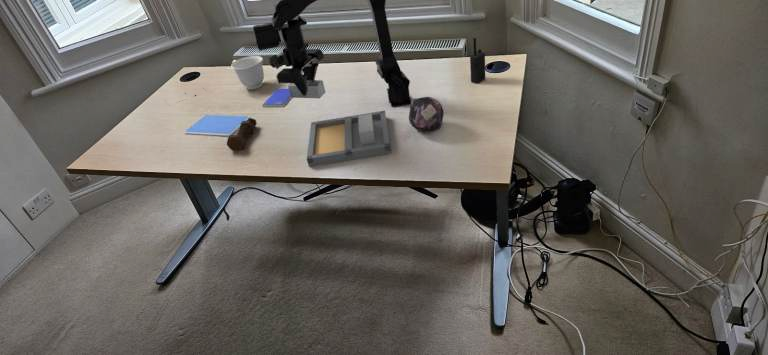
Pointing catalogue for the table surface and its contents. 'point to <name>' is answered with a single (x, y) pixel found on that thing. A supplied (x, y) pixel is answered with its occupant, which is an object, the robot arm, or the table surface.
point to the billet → (308, 89)
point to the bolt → (241, 135)
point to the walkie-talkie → (477, 65)
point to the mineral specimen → (426, 114)
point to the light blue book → (217, 125)
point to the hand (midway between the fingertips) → (307, 91)
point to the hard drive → (278, 98)
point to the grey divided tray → (348, 138)
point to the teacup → (249, 71)
